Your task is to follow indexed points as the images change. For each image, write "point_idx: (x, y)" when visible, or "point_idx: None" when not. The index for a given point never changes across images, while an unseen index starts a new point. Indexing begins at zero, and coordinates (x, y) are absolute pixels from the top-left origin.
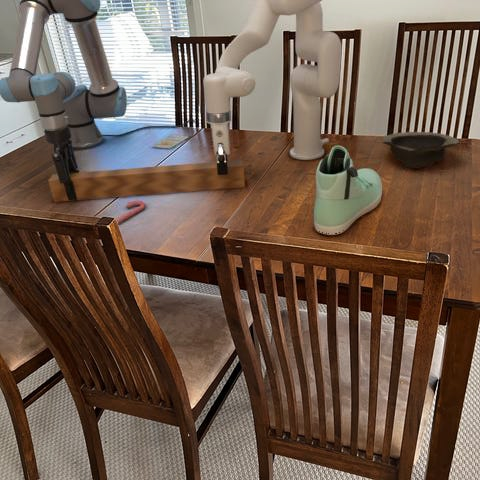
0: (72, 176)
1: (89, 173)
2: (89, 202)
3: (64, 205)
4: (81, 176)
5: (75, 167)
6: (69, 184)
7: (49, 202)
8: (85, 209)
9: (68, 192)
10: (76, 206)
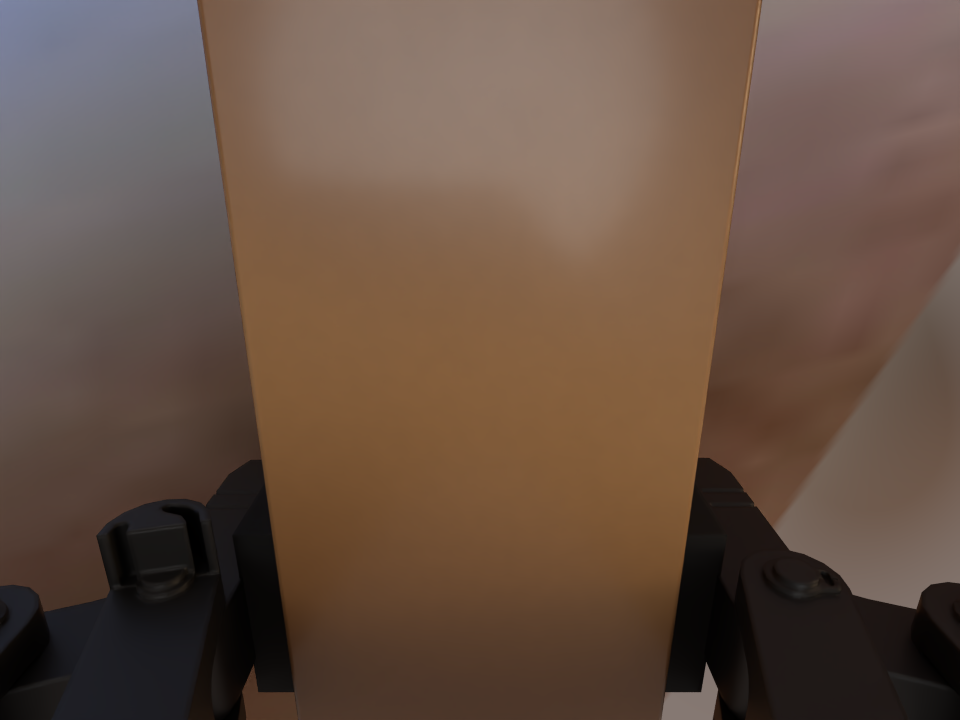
0: (527, 587)
1: (385, 129)
2: None
3: None
4: (590, 347)
5: (99, 663)
6: (763, 547)
7: None
8: (927, 163)
9: None
10: (776, 322)
